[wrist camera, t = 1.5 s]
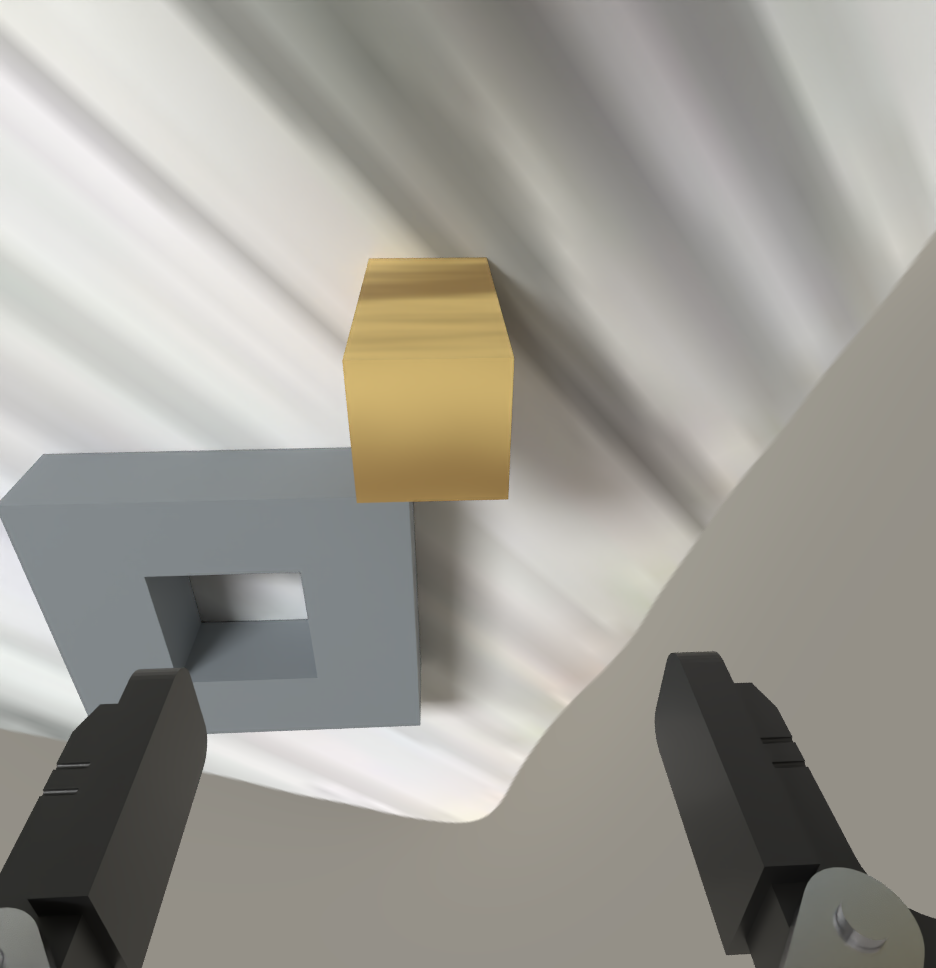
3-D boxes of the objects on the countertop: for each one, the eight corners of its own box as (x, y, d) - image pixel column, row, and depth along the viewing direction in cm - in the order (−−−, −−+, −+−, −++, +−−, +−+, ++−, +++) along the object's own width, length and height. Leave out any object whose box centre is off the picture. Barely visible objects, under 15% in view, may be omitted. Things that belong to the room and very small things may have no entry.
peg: (368, 258, 26) (342, 360, 18) (486, 257, 27) (514, 357, 18) (376, 368, 29) (356, 502, 20) (484, 366, 29) (508, 499, 21)
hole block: (43, 454, 30) (-5, 506, 27) (410, 446, 31) (408, 496, 28) (127, 675, 38) (97, 738, 34) (420, 665, 39) (420, 725, 35)
